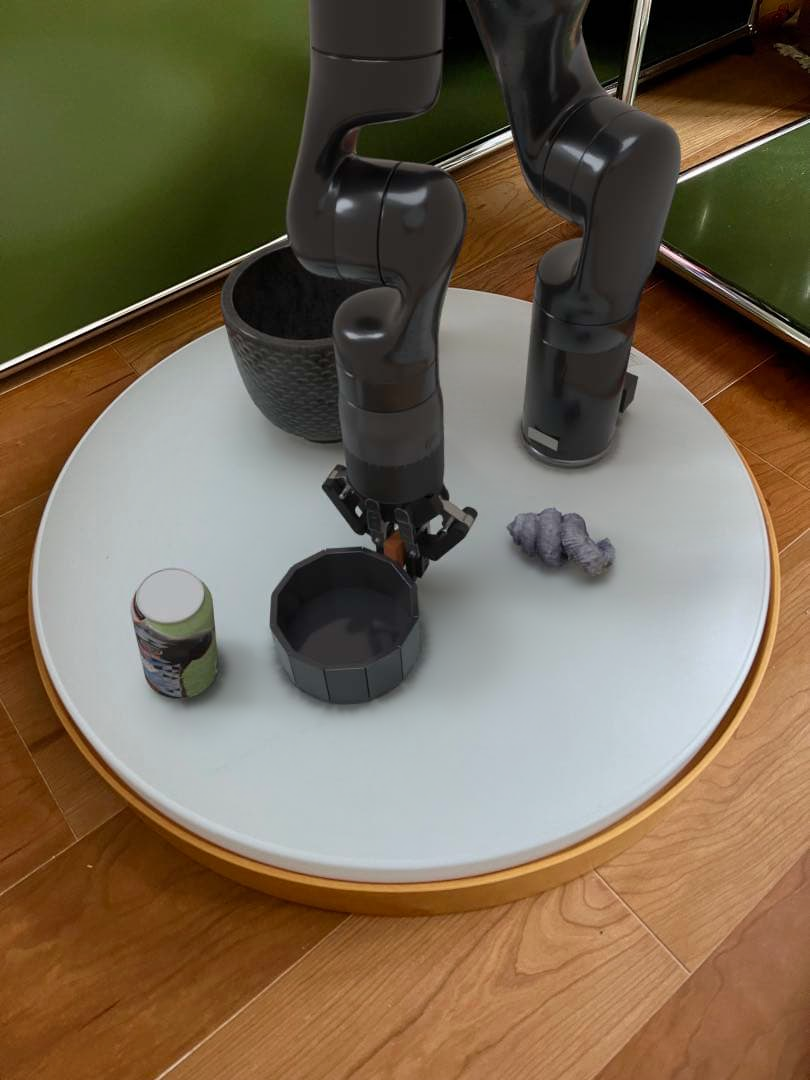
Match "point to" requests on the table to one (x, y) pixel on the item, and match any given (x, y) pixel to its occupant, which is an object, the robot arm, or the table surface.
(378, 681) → the dark grey saucepan
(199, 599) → the beverage can
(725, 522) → the table surface
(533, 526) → the seashell
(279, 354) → the planter
